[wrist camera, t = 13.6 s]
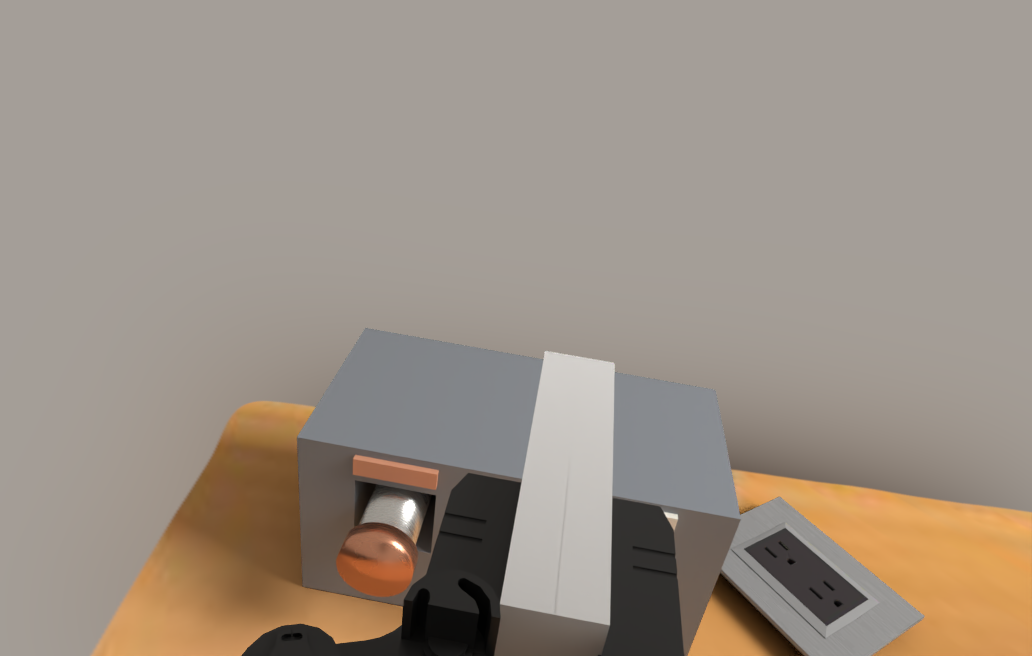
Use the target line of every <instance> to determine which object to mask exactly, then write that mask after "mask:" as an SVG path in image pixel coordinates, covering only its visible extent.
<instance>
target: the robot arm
mask: <svg viewBox="0 0 1032 656" xmlns="http://www.w3.org/2000/svg"><path fill="white" fill-rule="evenodd" d="M614 375H615V363H612V362H606V361H600V360H595V359H589V358H583V357H577V356H572V355H566V354H561V353H555V352H549V351H545V355H544V360H543V366H542V371H541V377H540V382H539V388H538V394H537V399H536V405H535V410H534V416H533V422H532V427H531V433H530V438H529V444H528V449H527V455H526V461H525V466H524V472H523V477H522V483H521V482H516V481H510V480H505V479H499V478H494V477H489V476H483V475H478V474H472V473H468V474H467V475H466V476H465V477H464V478H463V479H462V480H461V481H460V482H459V483H458V484H457V485H456V486H455V487H454V488H453V489H452V490H451V493H450V496H449V499H448V503H447V506H446V509H445V513H444V517H443V520H442V523H441V526H440V530H439V534H438V536H437V540H436V543H435V546H434V550H433V553H432V556H431V560H430V563H429V566H428V570H427V573H426V575H425V576H424V577H422V578H421V579H420V580H418V581H417V582H416V583H414V584H413V585H412V586H411V588H410V590H409V591H408V593H407V595H406V596H405V598H404V602H403V617H402V625H401V626H400V627H399V628H397V629H396V630H395V631H393V632H391V633H389V634H386V635H384V636H382V637H380V638H375V639H371V640H366V641H358V642H349V643H340V644H335V642H334V640H333V638H332V637H331V636H329V635H328V634H326V633H325V632H324V631H322V630H321V629H320V628H317V627H313V626H308V625H304V624H295V625H286V626H281V627H278V628H276V629H274V630H272V631H269V632H267V633H265V634H263V635H262V636H261V637H260V638H258V639H257V640H256V641H255V642H254V643H253V644H252V645H250V646H249V647H248V648H247V650H246V651H245V652H244V653H243V654H242V656H685V655H684V648H683V636H682V624H681V612H680V600H679V588H678V579H677V564H676V559H675V555H676V552H675V540H674V530H673V528H672V526H671V524H670V522H669V521H668V519H667V517H666V515H665V514H664V512H663V510H662V508H661V507H660V506H655V505H649V504H644V503H639V502H633V501H628V500H622V499H617V498H612V486H613V431H614Z"/></svg>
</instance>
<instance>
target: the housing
mask: <svg viewBox="0 0 1032 656" xmlns="http://www.w3.org/2000/svg"><path fill="white" fill-rule="evenodd" d="M543 360H544V359H538V358H532V357H527V356H520V355H515V354H509V353H503V352H498V351H493V350H487V349H481V348H476V347H470V346H464V345H459V344H453V343H447V342H442V341H436V340H430V339H424V338H419V337H414V336H408V335H402V334H397V333H391V332H385V331H379V330H374V329H368V328H365V330H364V331H363V333H362V334H361V336H360V338H359V339H358V341H357V342H356V344H355V346H354V347H353V349H352V350H351V352H350V353H349V355H348V357H347V358H346V360H345V361H344V363H343V365H342V366H341V368H340V369H339V371H338V373H337V374H336V376H335V377H334V379H333V381H332V382H331V384H330V386H329V387H328V389H327V390H326V392H325V394H324V395H323V397H322V398H321V400H320V402H319V403H318V405H317V406H316V408H315V409H314V411H313V413H312V414H311V416H310V417H309V419H308V421H307V422H306V424H305V425H304V427H303V429H302V430H301V432H300V433H299V435H298V437H297V449H298V476H299V503H300V530H301V557H302V584H303V587H308V588H313V589H318V590H323V591H328V592H333V593H338V594H343V595H349V596H354V597H359V598H364V599H369V600H374V601H379V602H384V603H390V604H395V605H400V606H403V602H404V598H405V596H406V595H407V593H408V591H409V590H410V588H411V586H412V585H413V584H414V583H416V582H417V581H418V580H420V579H421V578H422V577H424V576H425V575H426V573H427V570H428V566H429V563H430V560H431V556H432V553H433V550H434V546H435V543H436V540H437V536H438V534H439V530H440V526H441V523H442V520H443V517H444V513H445V509H446V506H447V503H448V499H449V496H450V493H451V490H452V489H453V488H454V487H455V486H456V485H457V484H458V483H459V482H460V481H461V480H462V479H463V478H464V477H465V476H466V475H467V474H468V473H472V474H478V475H483V476H489V477H494V478H499V479H505V480H510V481H516V482H521V483H522V477H523V472H524V466H525V461H526V455H527V449H528V444H529V438H530V433H531V427H532V422H533V416H534V410H535V405H536V399H537V394H538V388H539V382H540V377H541V371H542V366H543ZM376 484H379V485H384V486H389V487H395V488H400V489H405V490H411V491H416V492H421V493H427V494H432V497H431V500H430V503H429V506H428V509H427V512H426V515H425V518H424V521H423V524H422V527H421V530H420V533H419V536H418V539H417V542H416V547H417V550H418V561H417V564H416V567H415V570H414V573H413V577H412V580H411V582H410V585H409V586H408V588H407V589H406V590H404V591H403V592H401V593H400V594H397V595H394V596H389V597H377V596H371V595H367V594H364V593H362V592H360V591H358V590H356V589H354V588H352V587H351V586H350V585H348V584H347V583H346V582H345V581H344V580H343V579H342V577H341V576H340V574H339V572H338V570H337V567H336V559H337V556H338V554H339V551H340V549H341V547H342V545H343V542H344V540H345V538H346V536H347V534H348V532H349V531H350V530H351V529H352V528H354V527H355V526H357V525H359V523H360V521H361V518H362V516H363V514H364V511H365V509H366V507H367V505H368V502H369V500H370V498H371V495H372V493H373V491H374V488H375V486H376ZM612 498H617V499H622V500H628V501H633V502H639V503H644V504H649V505H655V506H660V507H661V508H662V510H663V512H664V514H665V515H666V517H667V519H668V521H669V522H670V524H671V526H672V528H673V530H674V540H675V552H676V555H675V559H676V564H677V579H678V588H679V600H680V612H681V624H682V636H683V648H684V655H685V656H687V655H688V652H689V650H690V647H691V645H692V642H693V640H694V637H695V635H696V632H697V630H698V627H699V625H700V622H701V619H702V617H703V614H704V612H705V609H706V607H707V604H708V602H709V599H710V597H711V594H712V592H713V589H714V587H715V584H716V581H717V579H718V576H719V574H720V571H721V569H722V566H723V564H724V561H725V559H726V556H727V554H728V551H729V548H730V546H731V543H732V541H733V538H734V536H735V533H736V531H737V528H738V526H739V523H740V521H741V517H740V512H739V507H738V502H737V497H736V492H735V487H734V482H733V477H732V471H731V466H730V462H729V457H728V451H727V446H726V441H725V436H724V431H723V426H722V421H721V416H720V411H719V406H718V401H717V396H716V391H715V390H713V389H708V388H701V387H696V386H690V385H685V384H679V383H674V382H668V381H662V380H657V379H650V378H645V377H639V376H634V375H628V374H623V373H617V372H615V375H614V431H613V486H612Z"/></svg>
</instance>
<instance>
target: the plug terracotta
mask: <svg viewBox="0 0 1032 656" xmlns="http://www.w3.org/2000/svg"><path fill="white" fill-rule="evenodd" d="M431 497H432V494H427V493H421V492H416V491H411V490H405V489H400V488H395V487H389V486H384V485H379V484H376V486H375V488H374V491H373V493H372V495H371V498H370V500H369V502H368V505H367V507H366V509H365V511H364V514H363V516H362V518H361V521H360V523H359V525H357V526H355V527H354V528H352V529H351V530H350V531H349V532H348V534H347V536H346V538H345V540H344V542H343V545H342V547H341V549H340V551H339V554H338V556H337V559H336V567H337V570H338V572H339V574H340V576H341V577H342V579H343V580H344V581H345V582H346V583H347V584H348V585H350V586H351V587H352V588H354V589H356V590H358V591H360V592H362V593H364V594H367V595H371V596H377V597H389V596H394V595H397V594H400V593H401V592H403V591H404V590H406V589H407V588H408V586H409V585H410V582H411V580H412V577H413V573H414V570H415V567H416V564H417V561H418V550H417V547H416V542H417V539H418V536H419V533H420V530H421V527H422V524H423V521H424V518H425V515H426V512H427V509H428V506H429V503H430V500H431Z"/></svg>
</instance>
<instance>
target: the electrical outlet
mask: <svg viewBox="0 0 1032 656" xmlns="http://www.w3.org/2000/svg"><path fill="white" fill-rule="evenodd" d="M740 517H741V521H740V523H739V526H738V528H737V531H736V533H735V536H734V538H733V541H732V543H731V546H730V548H729V551H728V554H727V556H726V559H725V561H724V564H723V566H722V569H721V571H720V574H721V575H722V576H723V577H724V578H725V579H726V580H727V581H728V582H729V583H730V584H731V585H732V586H733V587H734V588H735V589H736V590H738V591H739V592H740V593H741V594H742V595H743V596H744V597H745V598H746V599H747V600H748V601H749V602H750V603H751V604H752V605H753V606H754V607H755V608H756V609H757V610H758V611H759V612H760V613H761V614H762V615H763V616H764V617H765V618H766V619H767V620H768V621H769V622H770V623H771V624H772V625H773V626H774V627H775V628H776V629H777V630H778V631H779V632H780V633H781V634H782V635H783V636H784V637H785V638H786V639H787V640H788V641H789V642H790V643H791V644H792V645H793V646H794V647H795V648H796V649H797V650H798V651H799V652H800V653H801V654H802V655H803V656H872V655H874V654H875V653H876V652H878V651H879V650H881V649H882V648H883V647H885V646H886V645H887V644H889V643H890V642H892V641H893V640H894V639H896V638H897V637H899V636H900V635H901V634H903V633H904V632H906V631H907V630H908V629H910V628H911V627H913V626H914V625H915V624H917V623H918V622H920V621H921V620H922V619H923V618H924V617H925V616H924V615H922V614H921V613H920V612H919V611H918V610H916V609H915V608H914V607H913V606H912V605H910V604H909V603H908V602H907V601H905V600H904V599H903V598H902V597H901V596H899V595H898V594H897V593H896V592H895V591H893V590H892V589H891V588H890V587H889V586H887V585H886V584H885V583H884V582H882V581H881V580H880V579H879V578H878V577H876V576H875V575H874V574H873V573H872V572H870V571H869V570H868V569H867V568H865V567H864V566H863V565H862V564H861V563H859V562H858V561H857V560H856V559H855V558H853V557H852V556H851V555H850V554H849V553H847V552H846V551H845V550H844V549H842V548H841V547H840V546H839V545H838V544H836V543H835V542H834V541H833V540H832V539H830V538H829V537H828V536H827V535H825V534H824V533H823V532H822V531H821V530H819V529H818V528H817V527H816V526H815V525H813V524H812V523H811V522H810V521H809V520H807V519H806V518H805V517H804V516H802V515H801V514H800V513H799V512H798V511H796V510H795V509H794V508H793V507H792V506H790V505H789V504H788V503H787V502H785V501H784V500H783V499H782V498H781V497H777V498H775V499H773V500H771V501H769V502H767V503H765V504H762V505H760V506H758V507H756V508H754V509H752V510H750V511H747V512H745V513H743V514H741V515H740Z"/></svg>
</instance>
